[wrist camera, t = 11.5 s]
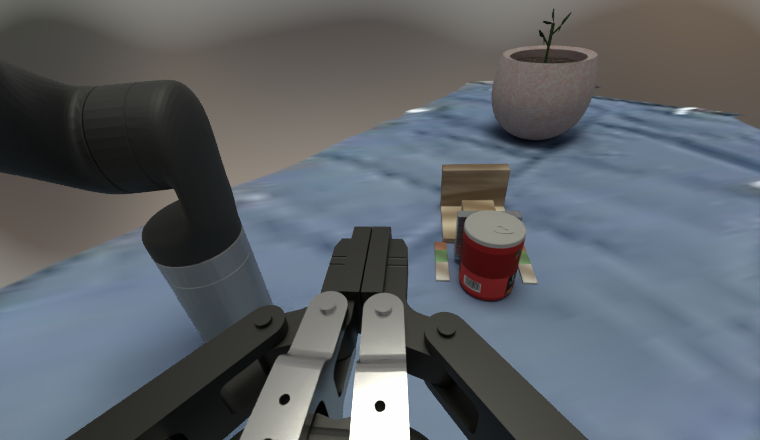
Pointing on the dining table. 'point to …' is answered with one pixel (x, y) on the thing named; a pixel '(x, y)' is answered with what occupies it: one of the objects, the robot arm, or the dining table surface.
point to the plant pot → (543, 88)
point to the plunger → (460, 227)
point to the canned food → (490, 254)
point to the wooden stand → (472, 206)
